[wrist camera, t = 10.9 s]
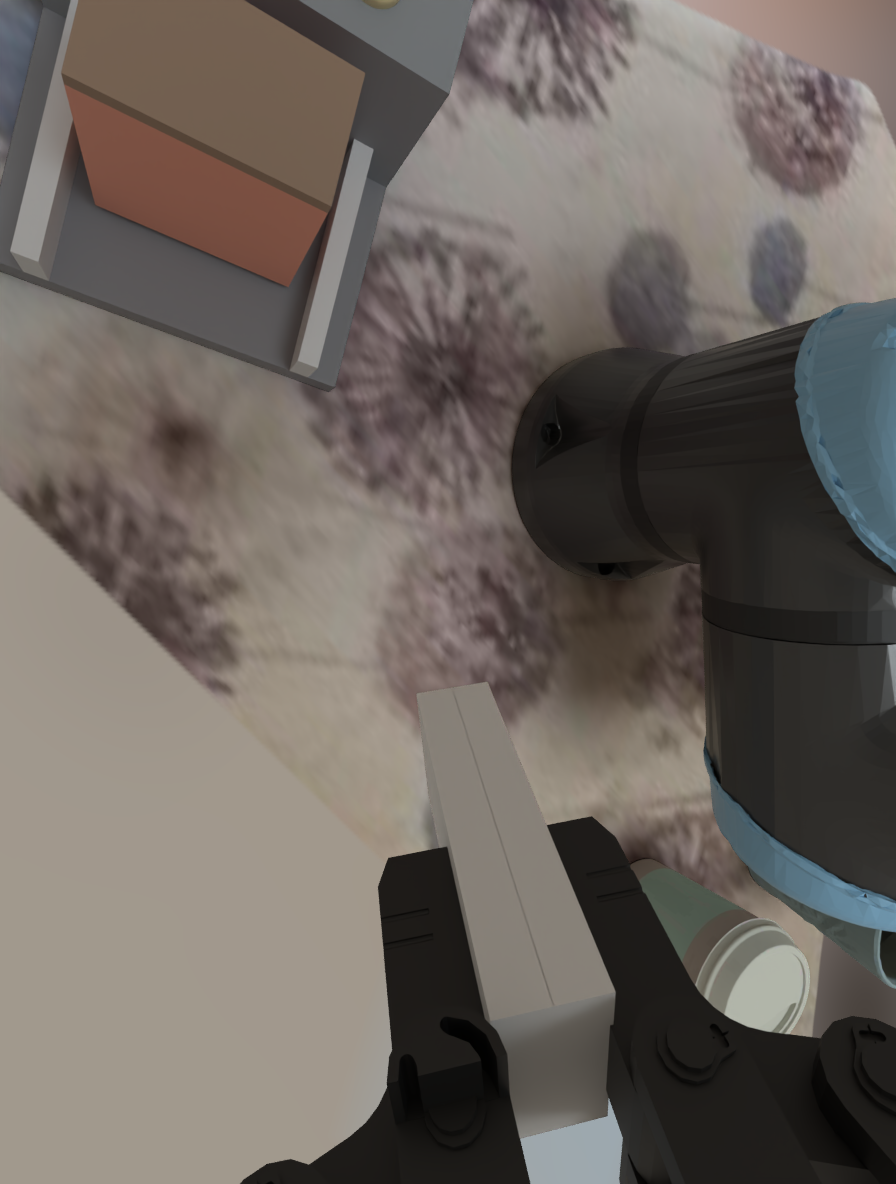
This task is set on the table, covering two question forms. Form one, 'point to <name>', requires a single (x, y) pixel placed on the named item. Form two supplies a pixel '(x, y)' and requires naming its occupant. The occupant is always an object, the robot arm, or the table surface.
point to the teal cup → (848, 936)
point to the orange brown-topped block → (210, 124)
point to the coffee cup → (729, 951)
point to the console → (196, 278)
